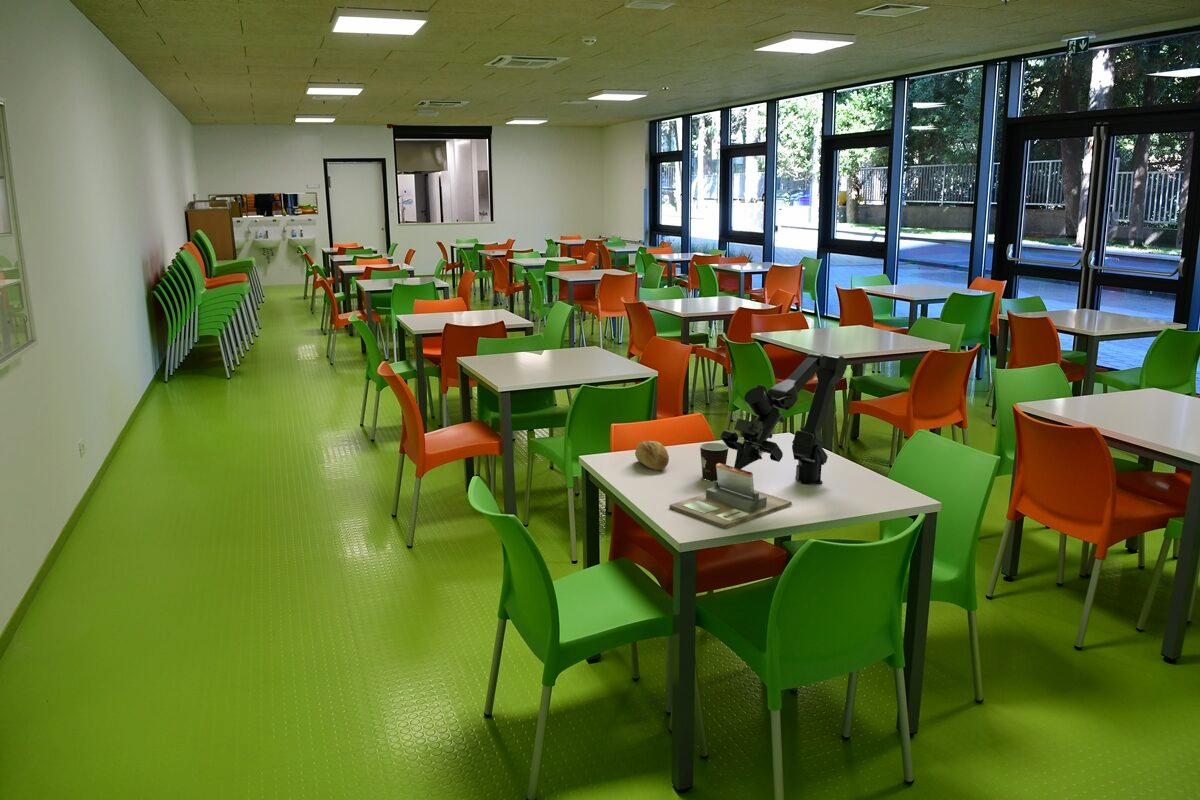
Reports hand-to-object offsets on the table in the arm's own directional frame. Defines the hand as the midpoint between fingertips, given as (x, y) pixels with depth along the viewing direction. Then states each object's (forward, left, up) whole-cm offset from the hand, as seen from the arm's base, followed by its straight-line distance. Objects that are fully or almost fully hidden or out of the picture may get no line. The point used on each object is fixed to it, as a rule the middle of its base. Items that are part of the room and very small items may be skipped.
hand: (735, 469), depth 238 cm
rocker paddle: (0, 0, -6) cm, 6 cm away
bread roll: (+16, -39, -11) cm, 44 cm away
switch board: (+1, +1, -10) cm, 10 cm away
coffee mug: (0, -26, -11) cm, 28 cm away
